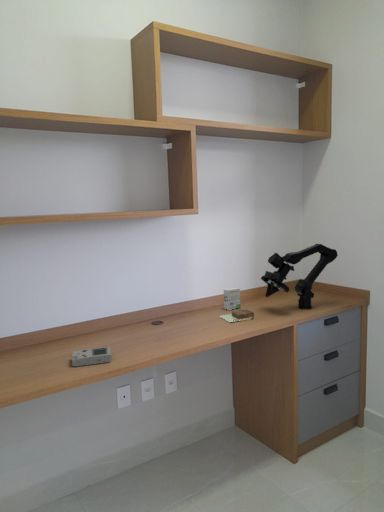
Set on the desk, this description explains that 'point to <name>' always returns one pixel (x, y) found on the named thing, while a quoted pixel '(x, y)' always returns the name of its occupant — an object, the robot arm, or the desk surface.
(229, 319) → the green mat
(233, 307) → the ink box
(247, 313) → the walnut plaque
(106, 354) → the handheld gaming device
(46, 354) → the desk surface
